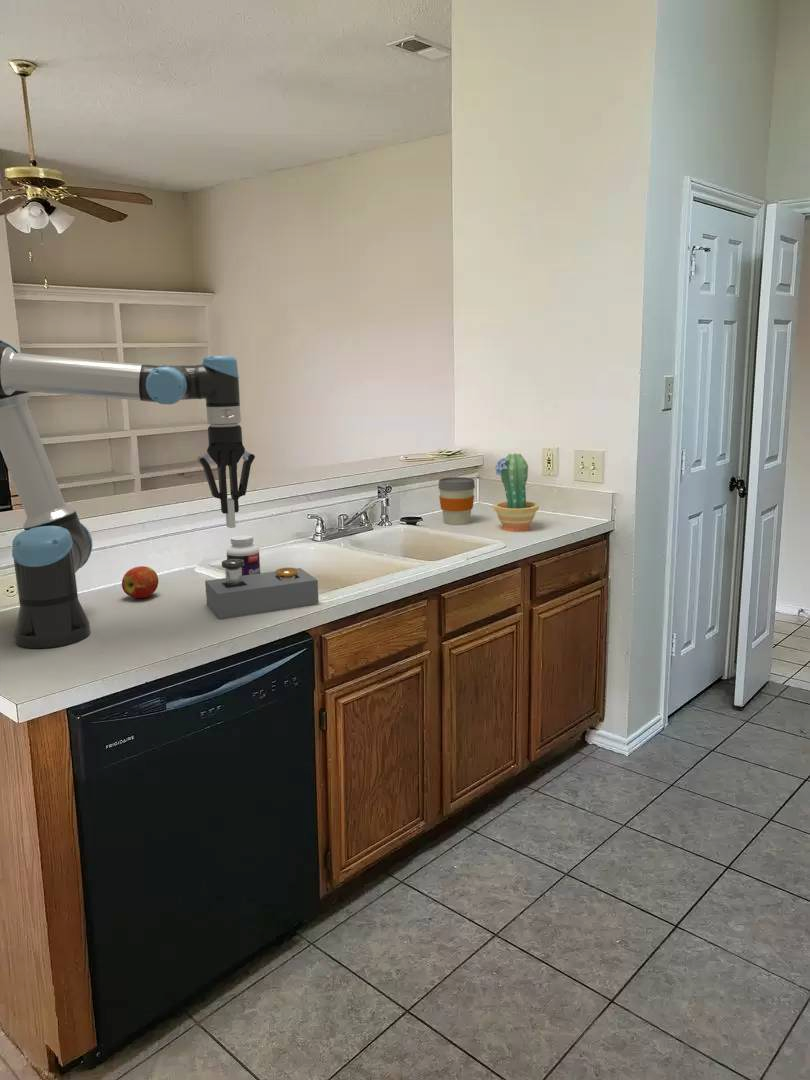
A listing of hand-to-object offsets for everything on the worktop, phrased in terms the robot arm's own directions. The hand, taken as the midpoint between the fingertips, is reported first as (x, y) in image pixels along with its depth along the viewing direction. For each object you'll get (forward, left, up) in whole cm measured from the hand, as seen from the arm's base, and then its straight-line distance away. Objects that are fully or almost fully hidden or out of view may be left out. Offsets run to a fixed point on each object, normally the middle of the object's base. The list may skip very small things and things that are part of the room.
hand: (231, 526), depth 196 cm
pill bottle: (+5, +12, -20) cm, 24 cm away
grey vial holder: (+6, 0, -20) cm, 21 cm away
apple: (-19, +21, -20) cm, 35 cm away
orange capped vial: (+13, 0, -20) cm, 24 cm away
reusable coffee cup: (+93, +61, -20) cm, 113 cm away
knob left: (0, 0, -16) cm, 16 cm away
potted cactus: (+105, +42, -20) cm, 115 cm away
